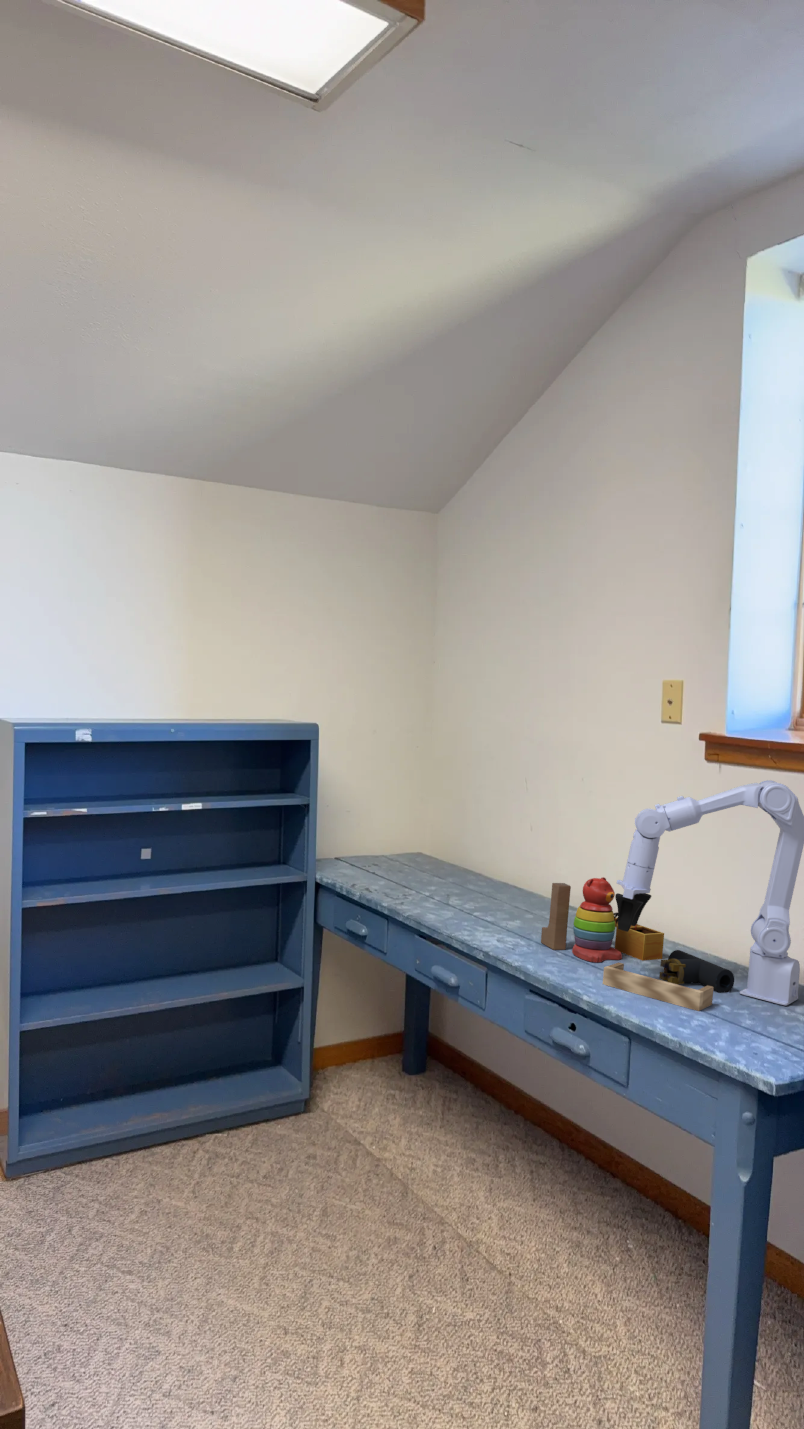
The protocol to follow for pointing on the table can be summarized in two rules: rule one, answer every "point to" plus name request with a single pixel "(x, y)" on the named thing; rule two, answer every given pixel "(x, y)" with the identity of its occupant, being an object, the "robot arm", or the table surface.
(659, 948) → the spider toy trap
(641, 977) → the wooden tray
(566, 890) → the wooden block
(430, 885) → the table surface
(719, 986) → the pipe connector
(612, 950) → the stacking bear
